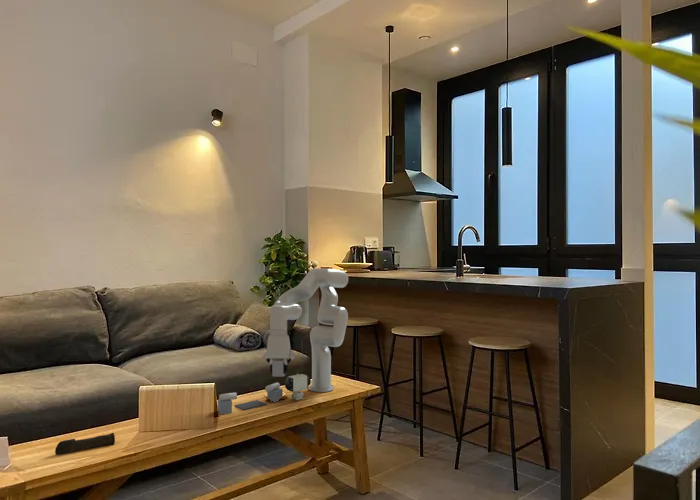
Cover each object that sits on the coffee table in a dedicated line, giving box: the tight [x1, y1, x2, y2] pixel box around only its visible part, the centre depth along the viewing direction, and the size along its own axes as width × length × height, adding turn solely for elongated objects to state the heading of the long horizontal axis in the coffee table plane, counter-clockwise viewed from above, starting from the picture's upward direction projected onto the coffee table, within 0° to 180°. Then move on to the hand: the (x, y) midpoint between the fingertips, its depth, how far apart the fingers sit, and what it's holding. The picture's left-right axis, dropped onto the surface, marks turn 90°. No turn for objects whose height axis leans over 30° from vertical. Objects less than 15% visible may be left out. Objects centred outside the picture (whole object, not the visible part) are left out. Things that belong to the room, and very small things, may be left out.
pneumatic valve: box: [284, 373, 312, 401], centre depth 248 cm, size 6×12×12 cm, turn 127°
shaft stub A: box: [265, 382, 284, 403], centre depth 245 cm, size 8×5×8 cm, turn 147°
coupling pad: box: [234, 399, 268, 411], centre depth 238 cm, size 12×8×1 cm, turn 132°
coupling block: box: [271, 359, 286, 378], centre depth 237 cm, size 5×5×8 cm
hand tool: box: [54, 432, 116, 455], centre depth 188 cm, size 19×4×5 cm, turn 123°
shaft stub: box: [217, 392, 238, 415], centre depth 230 cm, size 8×5×8 cm, turn 117°
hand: (279, 372), depth 237 cm, fingers closed on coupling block, 5 cm apart
